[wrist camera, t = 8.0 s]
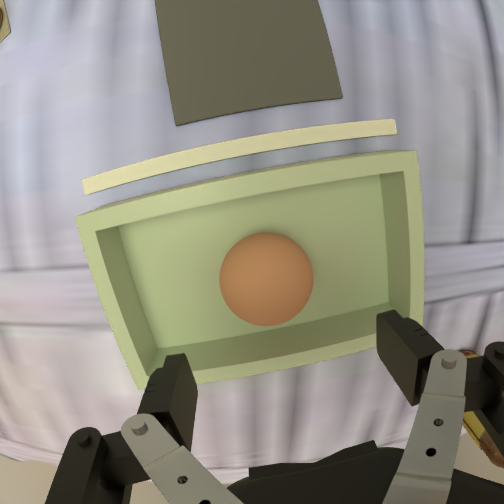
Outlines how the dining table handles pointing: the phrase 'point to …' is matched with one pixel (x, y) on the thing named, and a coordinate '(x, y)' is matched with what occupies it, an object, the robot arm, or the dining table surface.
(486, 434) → the sauce bottle
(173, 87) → the mat
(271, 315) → the ball
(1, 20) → the condiment
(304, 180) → the tray
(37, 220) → the dining table surface
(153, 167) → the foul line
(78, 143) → the dining table surface
